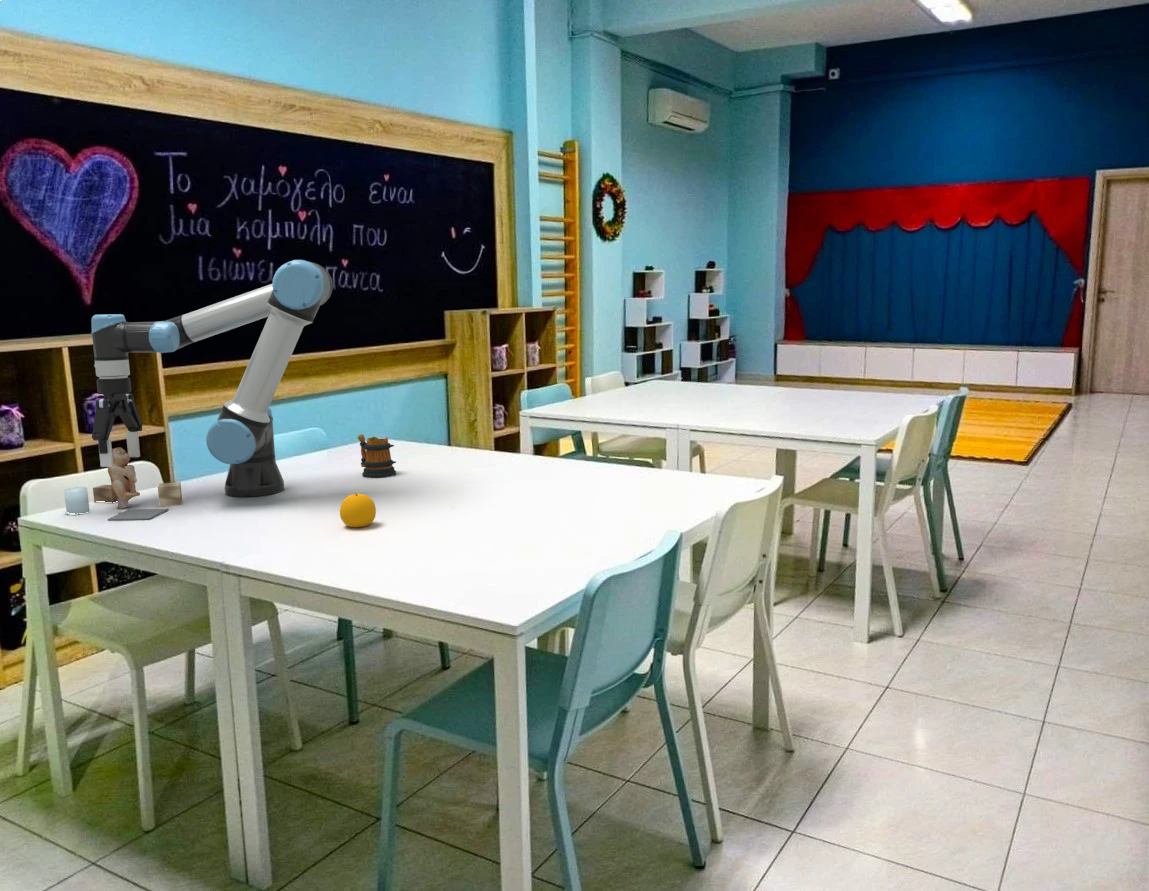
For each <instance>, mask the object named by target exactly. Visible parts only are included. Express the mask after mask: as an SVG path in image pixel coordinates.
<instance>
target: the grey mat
mask: <svg viewBox="0 0 1149 891" xmlns="http://www.w3.org/2000/svg"><path fill="white" fill-rule="evenodd" d="M169 510H170V509H169V508H138V509H137V508H134V509H133V508H132V509H131V508H130V509H126V510H124V511H122V512H119V513H118V514H115V515H114V516H112V517H109V518H107V521H109V522H110V521H111V522H112V521H115V522H116V521H117V522H118V521H119V522H121V521H151V520H153V519H154V518H156V517H158V516H160V515H162V514H164V513H166V512H168V511H169Z"/></svg>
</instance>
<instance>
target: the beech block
mask: <svg viewBox="0 0 1149 891" xmlns="http://www.w3.org/2000/svg"><path fill="white" fill-rule="evenodd" d="M182 494H183V492H182V484H181V481H178V482H177V481H175V482H166V483H165V482H164V483H158V486H157V495H158V503H159V507H166V506H169V507H170V506H178V505H182V503H183V495H182Z"/></svg>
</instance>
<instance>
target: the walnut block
mask: <svg viewBox="0 0 1149 891" xmlns="http://www.w3.org/2000/svg"><path fill="white" fill-rule="evenodd" d="M92 494H93V495H92V496H93V502H94V503H97V502H96V501H105V502H112V503H111V504H114V503H113V502H116V501H117V499H116V497H115V495H114V493H113V491H112V489H111V484H101V485H98V486H94V487H92ZM116 503H117V502H116Z"/></svg>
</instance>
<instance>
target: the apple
mask: <svg viewBox="0 0 1149 891" xmlns="http://www.w3.org/2000/svg"><path fill="white" fill-rule="evenodd" d="M376 514H377V508H376V504H375V502H374V501H373V499H372V498H371V497H370V496H368V495H366V494H363V493H357V492H356V493H354V494H349V495H348V496H346V498H344V499H343V500H342V503H341V505H340V508H339V516H340V519H341V522H343V524H344V525H346V526H348V527H350V528H363V527H367V526H369V525H370V524H372V523H373V522H374V521H375V519H376Z"/></svg>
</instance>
